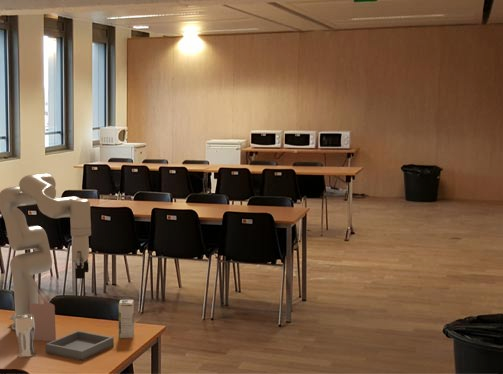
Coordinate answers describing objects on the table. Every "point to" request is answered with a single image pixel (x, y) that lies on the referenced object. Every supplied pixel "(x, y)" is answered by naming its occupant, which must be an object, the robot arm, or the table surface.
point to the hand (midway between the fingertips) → (82, 275)
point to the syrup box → (126, 318)
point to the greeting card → (44, 321)
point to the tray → (79, 345)
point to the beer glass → (25, 335)
